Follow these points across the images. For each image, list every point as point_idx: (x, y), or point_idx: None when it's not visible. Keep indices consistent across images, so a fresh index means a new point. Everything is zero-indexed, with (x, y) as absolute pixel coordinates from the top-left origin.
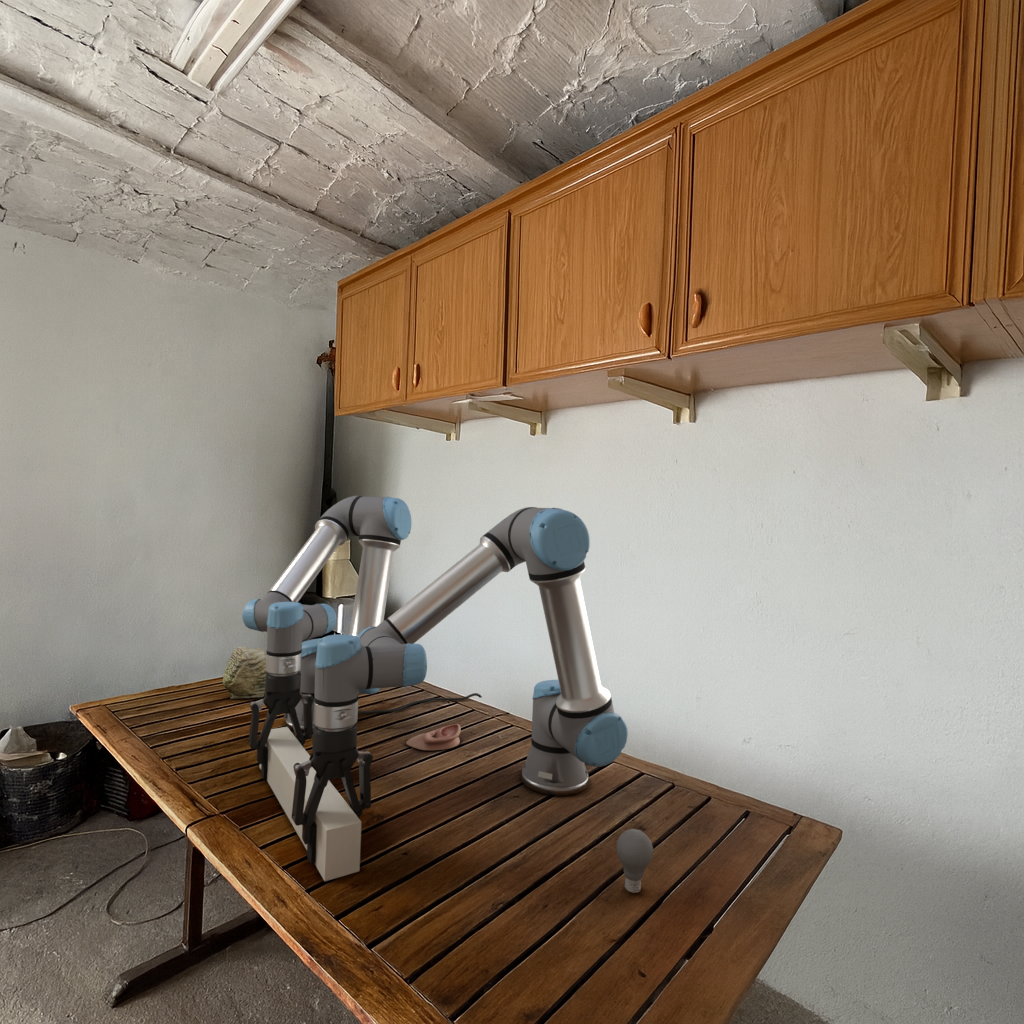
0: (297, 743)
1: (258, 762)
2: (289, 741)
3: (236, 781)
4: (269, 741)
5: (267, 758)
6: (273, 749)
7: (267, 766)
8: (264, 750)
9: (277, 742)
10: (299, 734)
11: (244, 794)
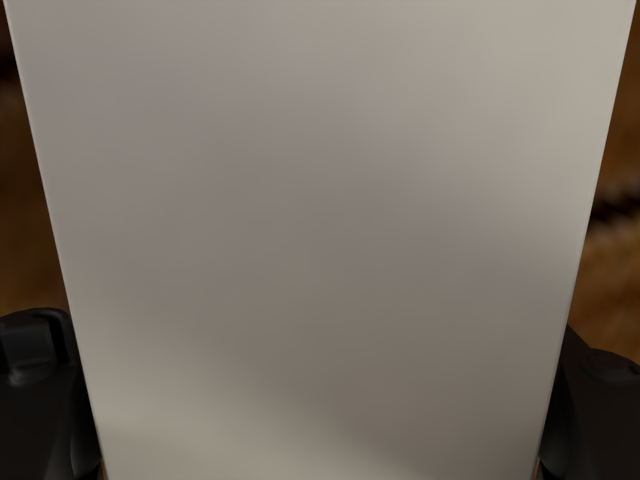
0: (87, 147)
1: None
2: (221, 309)
3: (587, 296)
4: (519, 437)
5: None
6: (621, 38)
7: None
8: None
9: (424, 348)
10: (2, 451)
11: (627, 64)
